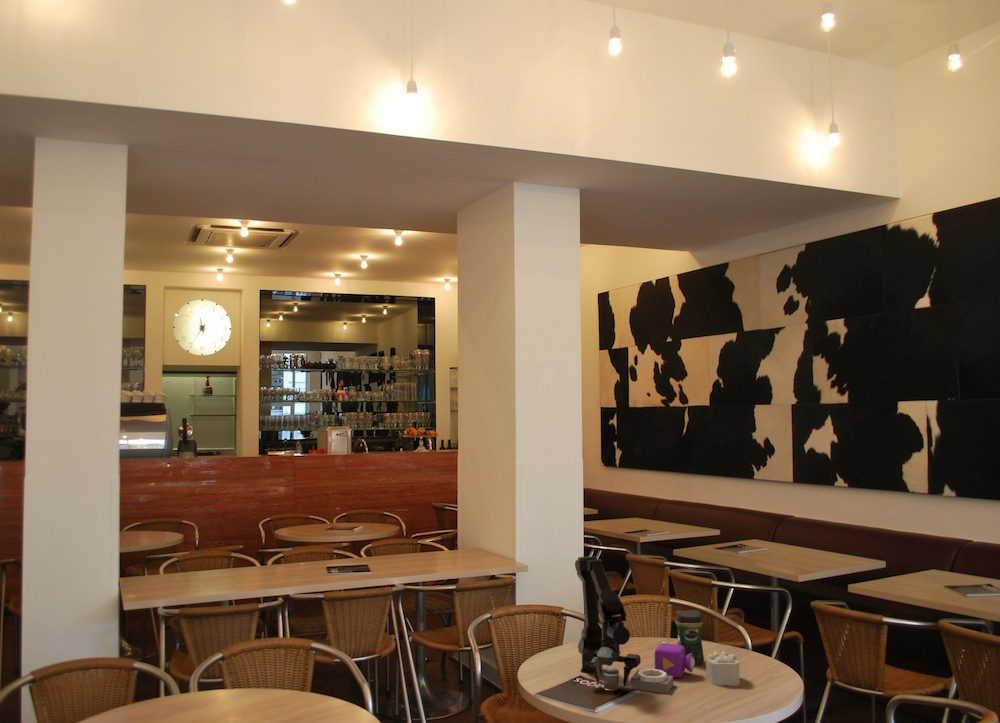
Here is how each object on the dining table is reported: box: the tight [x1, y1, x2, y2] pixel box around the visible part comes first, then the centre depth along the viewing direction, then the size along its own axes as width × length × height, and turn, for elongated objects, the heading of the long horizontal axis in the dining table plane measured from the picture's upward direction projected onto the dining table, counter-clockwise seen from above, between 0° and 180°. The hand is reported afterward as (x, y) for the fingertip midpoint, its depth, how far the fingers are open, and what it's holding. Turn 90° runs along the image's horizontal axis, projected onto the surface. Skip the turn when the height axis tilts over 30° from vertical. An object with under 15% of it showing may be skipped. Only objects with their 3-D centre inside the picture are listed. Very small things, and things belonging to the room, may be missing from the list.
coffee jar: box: [675, 609, 705, 665], centre depth 304 cm, size 10×8×19 cm
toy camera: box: [654, 641, 696, 679], centre depth 289 cm, size 11×14×10 cm
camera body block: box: [630, 668, 674, 695], centre depth 276 cm, size 12×9×4 cm
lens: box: [603, 667, 620, 689], centre depth 275 cm, size 5×5×6 cm
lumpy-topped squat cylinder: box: [705, 650, 741, 687], centre depth 284 cm, size 10×13×9 cm
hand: (611, 684), depth 275 cm, fingers open, 9 cm apart
